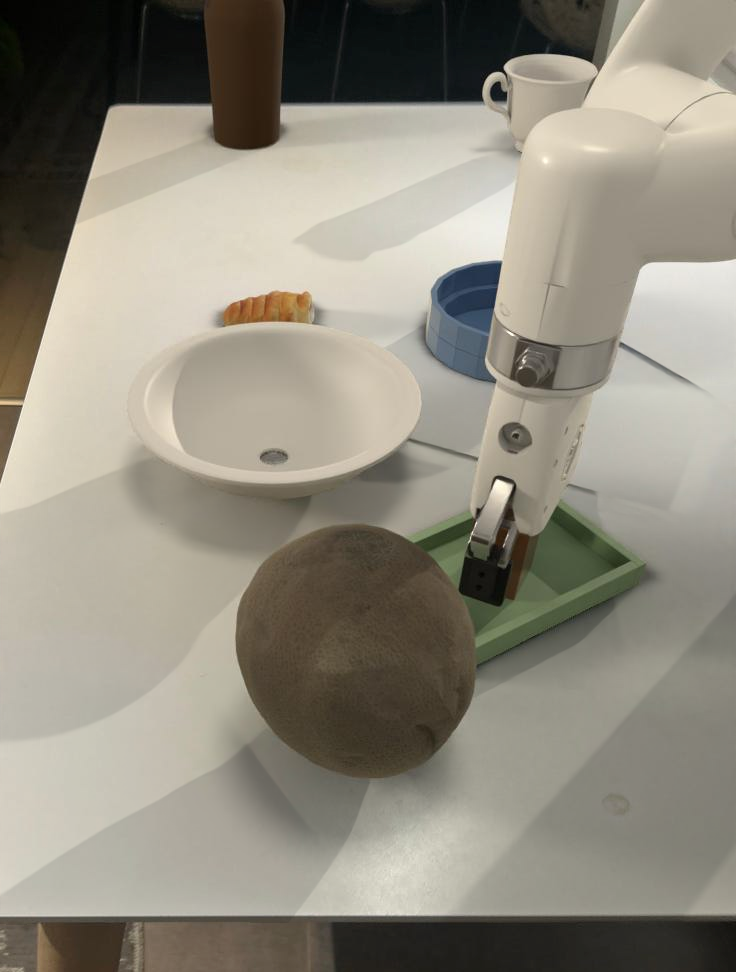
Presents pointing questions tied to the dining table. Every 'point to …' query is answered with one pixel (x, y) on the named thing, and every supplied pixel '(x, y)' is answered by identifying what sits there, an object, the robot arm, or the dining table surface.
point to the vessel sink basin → (274, 407)
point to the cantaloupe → (357, 650)
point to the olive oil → (245, 70)
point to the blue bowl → (463, 317)
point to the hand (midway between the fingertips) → (503, 557)
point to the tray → (539, 576)
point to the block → (517, 555)
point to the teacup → (539, 89)
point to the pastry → (271, 309)
